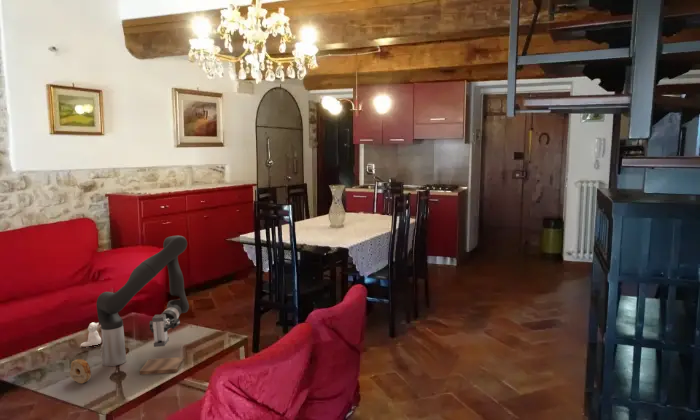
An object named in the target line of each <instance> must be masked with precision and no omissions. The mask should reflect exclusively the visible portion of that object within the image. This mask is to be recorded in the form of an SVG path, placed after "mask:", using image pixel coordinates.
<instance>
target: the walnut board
mask: <svg viewBox="0 0 700 420" xmlns="http://www.w3.org/2000/svg"><path fill="white" fill-rule="evenodd" d="M184 362H185V357H184V356H180V357H178V356H177V357H164V358H149V359H147V361H146V362H145V363H144V365H143V366H142V368H140V370H139V375H141V376H142V375H151V374H152V375H153V374H169V373H170V374H171V373H177V372H179V369H180V368H181V366H182V365H183V363H184Z"/></svg>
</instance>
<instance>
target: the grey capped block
mask: <svg viewBox="0 0 700 420" xmlns="http://www.w3.org/2000/svg"><path fill="white" fill-rule="evenodd" d="M151 319H152V320H151V321H153V330H154V333H153V340H154V341H153V347H154V348H157V347H166V345H167V344H168V342H169V338H170V337H169V336H168V331H166V332H164V327H165V325H167V323H166V314H162V313H161V314H154V316H153V317H152V318H151Z"/></svg>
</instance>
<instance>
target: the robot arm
mask: <svg viewBox="0 0 700 420" xmlns="http://www.w3.org/2000/svg"><path fill="white" fill-rule="evenodd" d="M187 247H188V241H187V239H186V237H185V236H182V235H172V236H168V237H165V238H164V241H163V248H162V249H161V250H160V251H159V252H157V253H155V254H153V255H152V256H150V257H148V258H146V259H144V260H143V261H141V263H140V264H138V265H137V266H136V267H135V268H134V269H133V270H132V272H131V273H130V275H129V278H128V280H127V281H126V282H125V284H124V285H122V287H121V288H119V289H118V290H117V291H115V292H112V291H104V292H102V293H101V294H99V296H98V297H97V299H96V312H97V319H98V323H99V324H100V329H101V330H100V331H101V339H102V340H101V341H102V342H101V343H102V344H101V346H100V348H101V359H102V366H107V367H115V366H120V365H122V364H124V363H125V362H127V354H126V344H125V342H126V341H125V332H124V321H123V318H122V317H121V316H120V315H119V312H121V311H122V310H123V309H124V308H125V307H126V305H127V304H128V303H129V302H130V301H131V300H132V299H133V298H134V297H135V296H136V294H137V293H139V292H140V291H141V290H142V289H143V288H144V287H145V286H146V285H147V284H149V282H150V281H152V280H153V279H154V278H155V277H156V276H157V275H158V274H159V273H160V272H162V270H163V269H165V268H166V267H167V270H168V271H167V273H168V281H169V294H170V295H171V296H177V297H179V298H178V299H171V300H169V301H168V302H167V305H166V309H165V310H164V311H163V312H161V314H166V323H167V325H165V327H164V332H166V331H167V332H168V331H169V330H170V329H175V328H177V327H178V326H180V324H181V321H180V318H179V317H180V316H181V314H186V313H187V312H188V311H189V309H190V304H189V301H188V299H187V298H188V297H187V296H186V291H185V280H184V275H183V271H182V270H181V267H180V264H179V256H180V255H182V253H184V252H185V250H186V249H187ZM149 330H150V331H151V333H152V334H154V330H153V320H150V321H149Z"/></svg>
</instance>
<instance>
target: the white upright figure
mask: <svg viewBox="0 0 700 420" xmlns="http://www.w3.org/2000/svg"><path fill="white" fill-rule="evenodd" d="M99 324H100V323H99V322H95V321H94V322H91V323H89V325H88V327H87V331H88V333H87V334H88V335H87V341H84V342H82V343H80V347H81V346H92V345H98V344H101V343H103V342H102V337H101V336H100V334H99V332H98V330H97V329H98V326H99ZM98 346H99V345H98Z"/></svg>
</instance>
